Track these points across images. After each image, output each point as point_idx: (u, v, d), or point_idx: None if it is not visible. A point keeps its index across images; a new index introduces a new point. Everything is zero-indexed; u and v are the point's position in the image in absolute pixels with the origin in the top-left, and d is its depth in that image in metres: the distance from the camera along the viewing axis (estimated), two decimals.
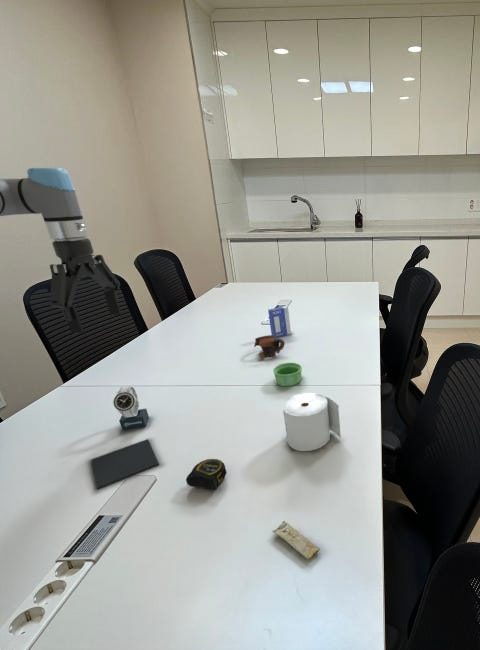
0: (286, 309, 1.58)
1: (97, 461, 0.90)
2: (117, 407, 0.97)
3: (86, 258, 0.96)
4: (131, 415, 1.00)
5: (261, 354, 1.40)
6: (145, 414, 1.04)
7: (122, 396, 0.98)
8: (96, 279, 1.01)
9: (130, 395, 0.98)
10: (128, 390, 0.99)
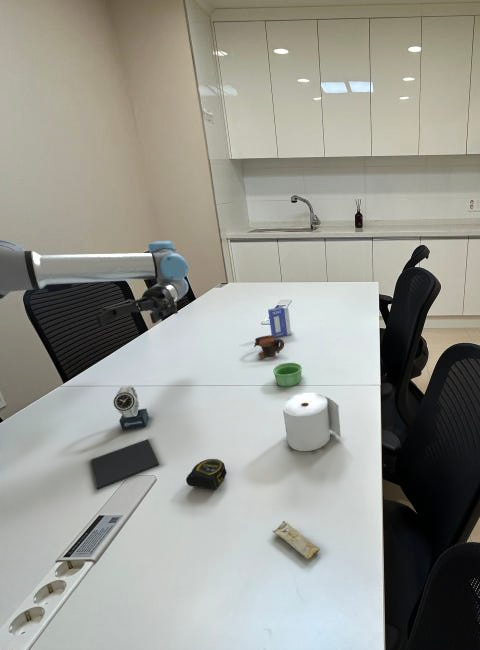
0: (286, 309, 1.58)
1: (97, 461, 0.90)
2: (117, 407, 0.97)
3: None
4: (131, 415, 1.00)
5: (261, 354, 1.40)
6: (145, 414, 1.04)
7: (122, 396, 0.98)
8: (128, 307, 1.11)
9: (130, 395, 0.98)
10: (128, 390, 0.99)
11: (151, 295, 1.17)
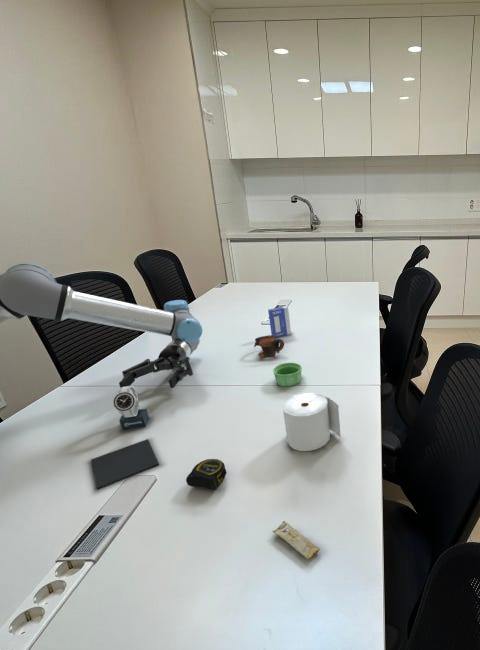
0: (286, 309, 1.58)
1: (97, 461, 0.90)
2: (117, 407, 0.97)
3: None
4: (131, 415, 1.00)
5: (261, 354, 1.40)
6: (145, 414, 1.04)
7: (122, 396, 0.98)
8: (147, 369, 1.19)
9: (130, 395, 0.98)
10: (128, 390, 0.99)
11: (167, 354, 1.25)
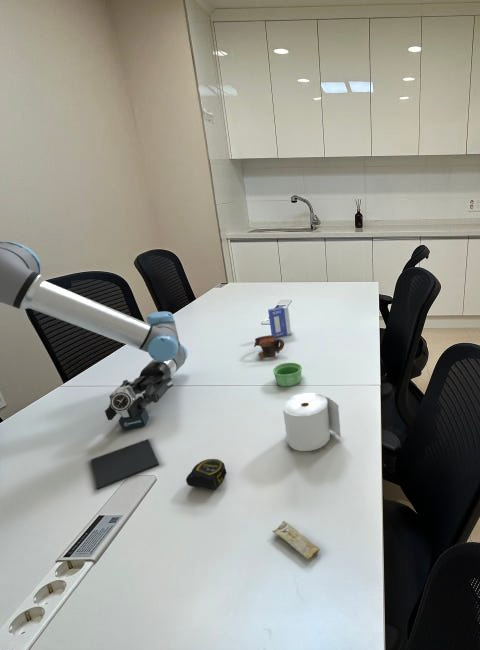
0: (286, 309, 1.58)
1: (97, 461, 0.90)
2: (114, 407, 0.97)
3: None
4: None
5: (261, 354, 1.40)
6: (144, 413, 1.04)
7: (119, 396, 0.98)
8: (133, 391, 1.07)
9: (126, 395, 0.98)
10: (124, 390, 0.99)
11: (149, 373, 1.13)
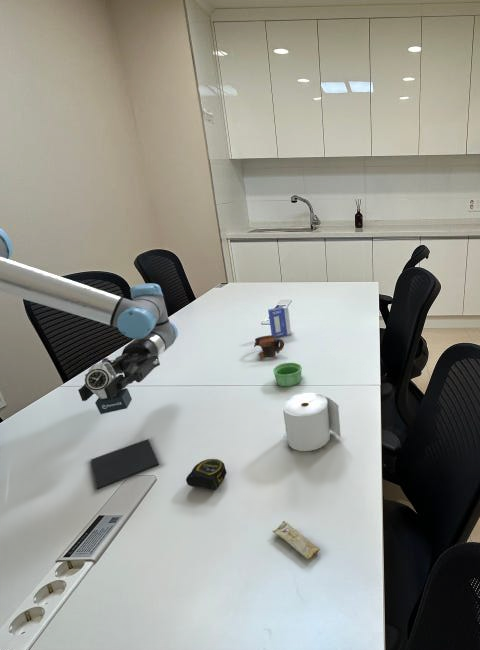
0: (286, 309, 1.58)
1: (97, 461, 0.90)
2: (89, 386, 0.83)
3: None
4: None
5: (261, 354, 1.40)
6: (126, 394, 0.90)
7: (95, 374, 0.84)
8: (113, 369, 0.93)
9: (104, 372, 0.84)
10: (101, 366, 0.85)
11: (133, 350, 1.00)
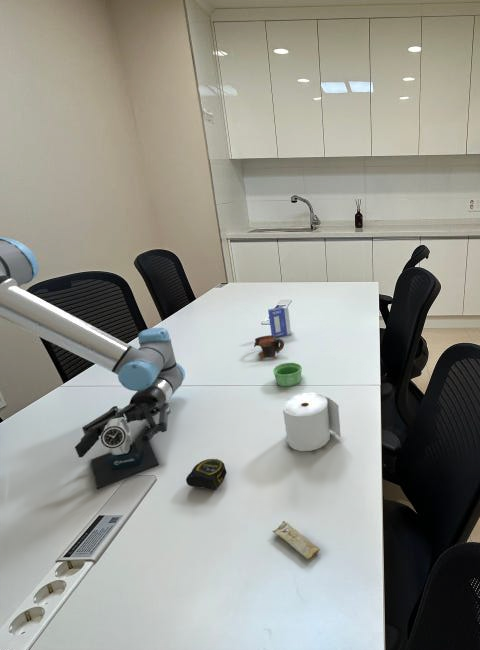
0: (286, 309, 1.58)
1: (97, 461, 0.90)
2: (105, 444, 0.83)
3: None
4: (122, 452, 0.85)
5: (261, 354, 1.40)
6: None
7: (111, 431, 0.83)
8: None
9: (120, 429, 0.84)
10: (118, 423, 0.84)
11: (141, 399, 0.99)
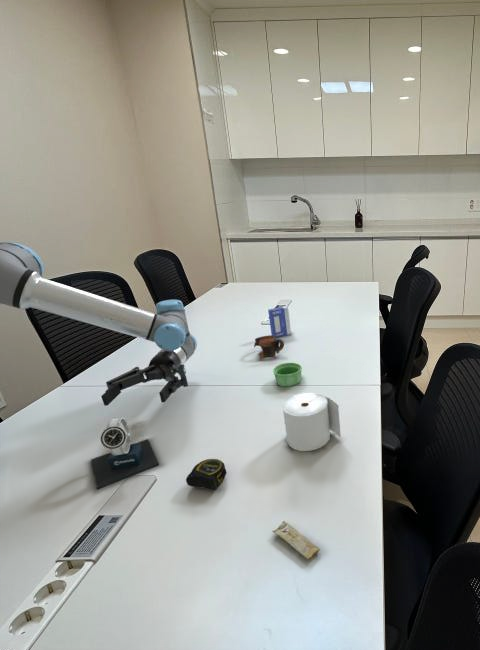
0: (286, 309, 1.58)
1: (97, 461, 0.90)
2: (105, 444, 0.83)
3: None
4: (122, 453, 0.85)
5: (261, 354, 1.40)
6: (139, 450, 0.90)
7: (111, 431, 0.83)
8: (135, 379, 1.04)
9: (120, 430, 0.84)
10: (118, 424, 0.84)
11: (159, 362, 1.10)
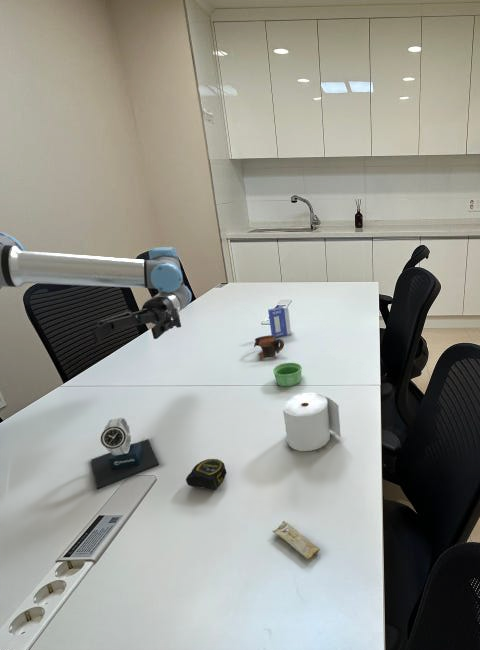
0: (286, 309, 1.58)
1: (97, 461, 0.90)
2: (105, 444, 0.83)
3: None
4: (122, 453, 0.85)
5: (261, 354, 1.40)
6: (139, 450, 0.90)
7: (111, 431, 0.83)
8: (127, 320, 1.02)
9: (120, 430, 0.84)
10: (118, 424, 0.84)
11: (152, 306, 1.07)
